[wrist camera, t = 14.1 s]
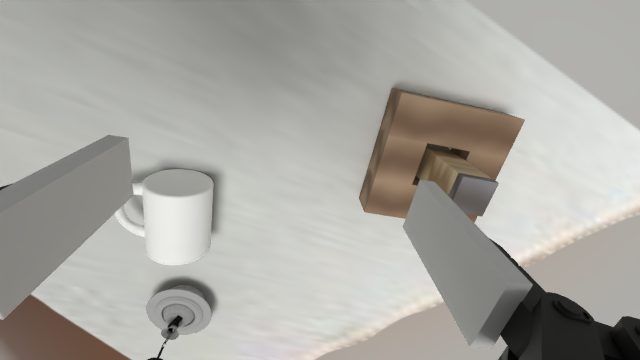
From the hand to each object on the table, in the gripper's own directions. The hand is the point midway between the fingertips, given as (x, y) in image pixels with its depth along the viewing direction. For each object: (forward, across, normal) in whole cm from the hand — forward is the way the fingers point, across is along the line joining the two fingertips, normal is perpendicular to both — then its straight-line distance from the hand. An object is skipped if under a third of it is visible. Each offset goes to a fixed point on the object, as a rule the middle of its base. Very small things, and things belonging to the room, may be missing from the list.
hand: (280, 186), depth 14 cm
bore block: (+25, +20, -5) cm, 33 cm away
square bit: (+25, +20, -5) cm, 33 cm away
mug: (+26, -14, -17) cm, 34 cm away
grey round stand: (+25, -13, -36) cm, 46 cm away
